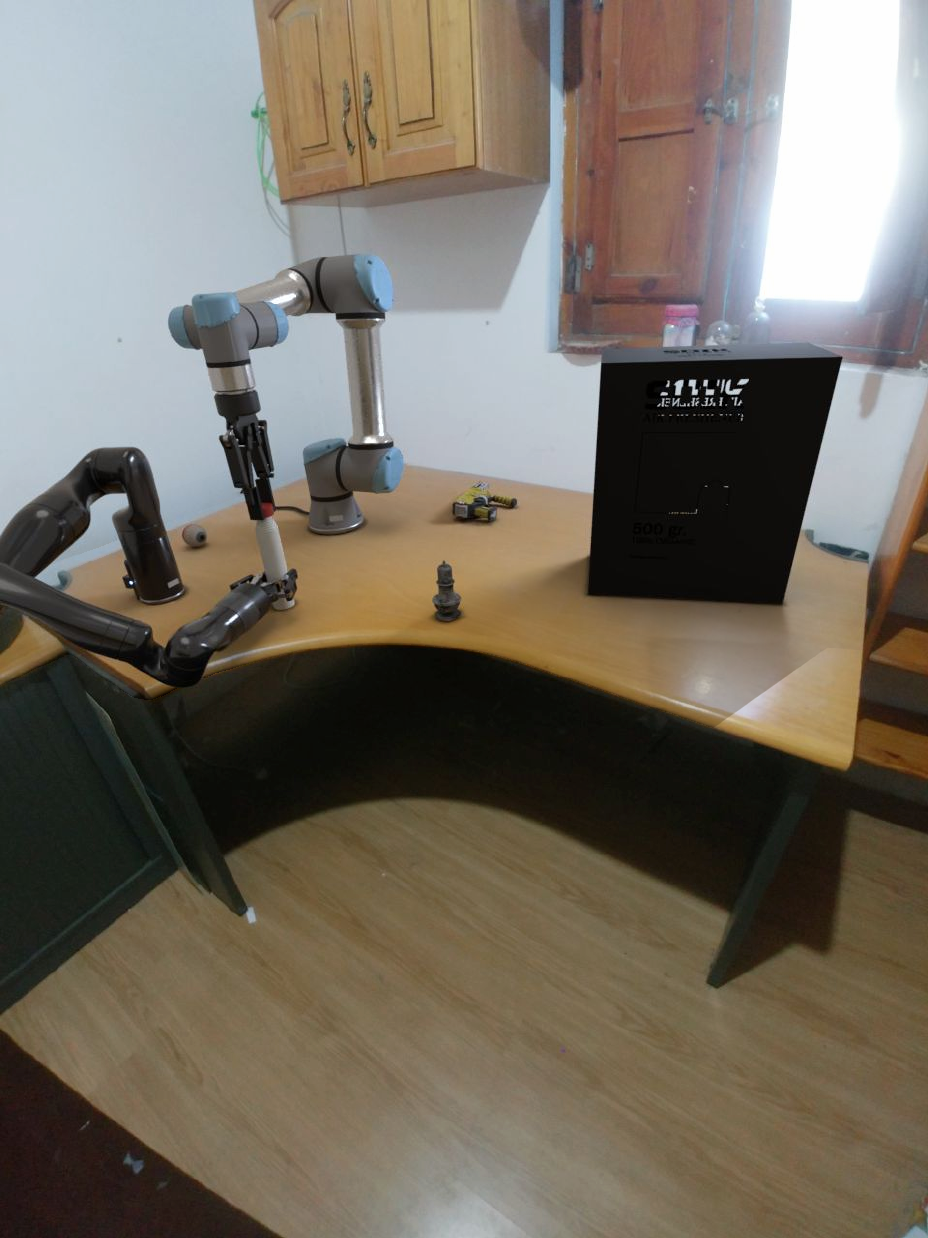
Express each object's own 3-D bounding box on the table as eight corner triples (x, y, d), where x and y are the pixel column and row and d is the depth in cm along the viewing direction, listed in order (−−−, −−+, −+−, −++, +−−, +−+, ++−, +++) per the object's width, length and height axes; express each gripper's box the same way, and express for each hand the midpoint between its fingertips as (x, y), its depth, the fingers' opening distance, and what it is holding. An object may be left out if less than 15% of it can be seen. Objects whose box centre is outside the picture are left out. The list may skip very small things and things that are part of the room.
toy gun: (525, 486, 181) (478, 479, 184) (503, 510, 160) (450, 501, 164) (523, 501, 183) (477, 494, 187) (501, 526, 163) (450, 518, 167)
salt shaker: (459, 622, 119) (455, 567, 113) (430, 620, 120) (425, 566, 114) (464, 608, 124) (461, 554, 118) (437, 606, 125) (432, 553, 119)
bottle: (292, 609, 128) (271, 511, 117) (271, 610, 127) (248, 513, 117) (296, 599, 131) (275, 503, 121) (275, 601, 131) (253, 505, 120)
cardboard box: (760, 561, 136) (807, 342, 113) (782, 604, 118) (842, 356, 96) (590, 554, 143) (602, 348, 121) (587, 594, 126) (601, 362, 104)
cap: (276, 510, 121) (274, 501, 120) (271, 517, 117) (269, 508, 117) (255, 511, 121) (253, 503, 120) (250, 519, 117) (248, 510, 116)
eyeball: (196, 552, 157) (189, 530, 154) (181, 548, 160) (174, 526, 157) (215, 543, 161) (209, 522, 158) (200, 540, 165) (193, 519, 162)
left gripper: (212, 624, 118) (258, 585, 132) (278, 630, 114) (317, 589, 129) (202, 590, 114) (250, 553, 128) (269, 595, 111) (311, 557, 125)
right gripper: (240, 383, 116) (266, 500, 127) (188, 400, 101) (223, 531, 113) (276, 382, 114) (299, 501, 126) (228, 399, 100) (260, 532, 111)
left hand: (284, 571), depth 128 cm, fingers closed on bottle, 4 cm apart
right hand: (263, 514), depth 119 cm, fingers closed on cap, 4 cm apart
